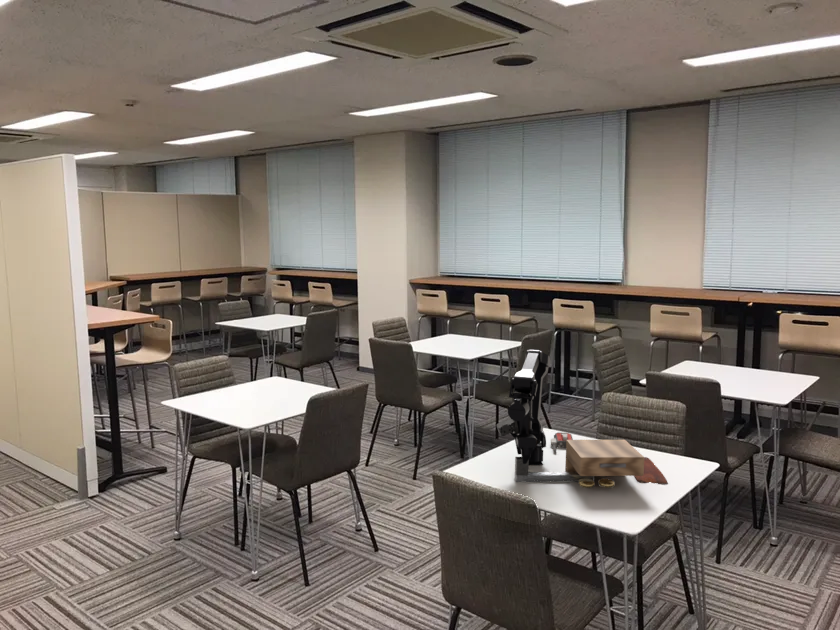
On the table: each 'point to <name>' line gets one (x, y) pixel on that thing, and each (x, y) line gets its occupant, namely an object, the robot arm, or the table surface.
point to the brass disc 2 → (606, 483)
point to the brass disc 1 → (586, 483)
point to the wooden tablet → (651, 473)
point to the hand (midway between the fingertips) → (521, 458)
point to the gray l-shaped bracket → (543, 474)
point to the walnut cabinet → (603, 458)
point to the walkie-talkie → (560, 440)
